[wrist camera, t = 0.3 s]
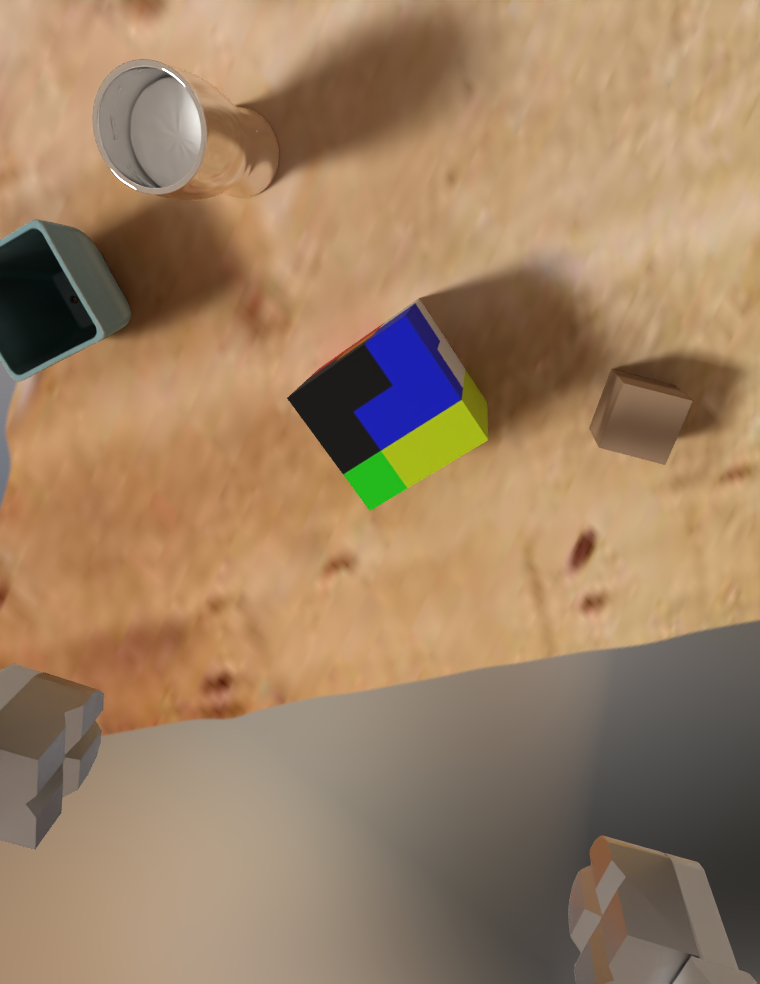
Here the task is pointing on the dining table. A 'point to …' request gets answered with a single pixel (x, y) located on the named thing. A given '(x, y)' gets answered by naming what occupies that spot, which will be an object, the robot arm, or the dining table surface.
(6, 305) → the flower pot
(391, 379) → the puzzle toy
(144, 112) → the beer glass
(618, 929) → the robot arm
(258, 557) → the dining table surface
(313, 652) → the dining table surface
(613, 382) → the walnut cube
